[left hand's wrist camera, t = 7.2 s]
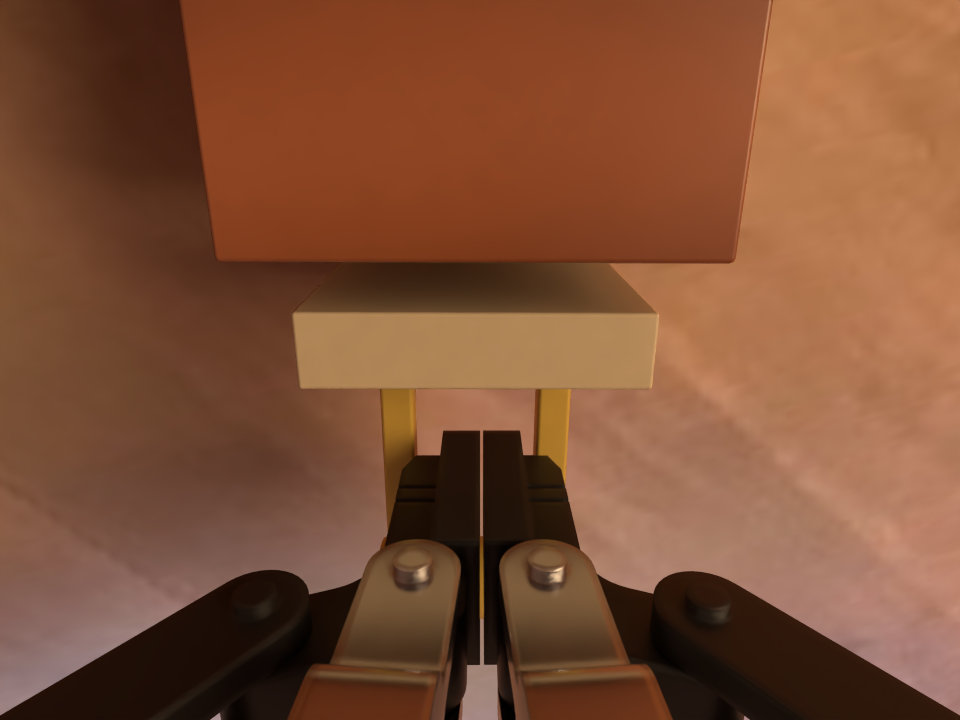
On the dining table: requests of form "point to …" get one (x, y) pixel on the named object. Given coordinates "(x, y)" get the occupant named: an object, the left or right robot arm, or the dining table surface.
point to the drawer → (473, 341)
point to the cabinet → (475, 128)
